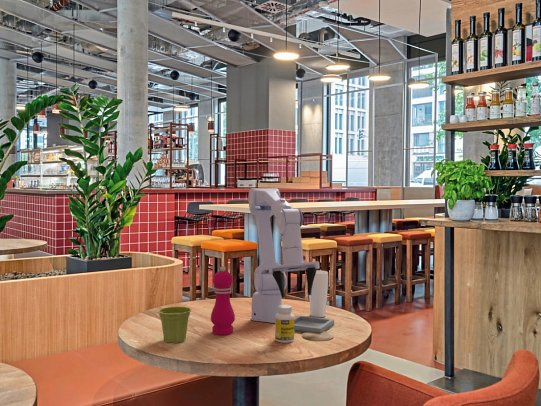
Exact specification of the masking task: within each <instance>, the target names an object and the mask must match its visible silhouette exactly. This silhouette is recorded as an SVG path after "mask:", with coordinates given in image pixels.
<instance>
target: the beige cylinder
mask: <svg viewBox="0 0 541 406" xmlns="http://www.w3.org/2000/svg"><path fill="white" fill-rule="evenodd" d="M328 290H329V272H328V271H327V270H319V269H318V270H317V269H316V274H315V277H314V281H313V285H312V293H311V295H308V299H309V315H310V317H317V318H323V317H324V318H325V316H326V315H327V303H328Z"/></svg>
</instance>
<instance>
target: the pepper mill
mask: <svg viewBox="0 0 541 406" xmlns="http://www.w3.org/2000/svg"><path fill="white" fill-rule="evenodd" d="M219 270H220V271H217V272H216V273H214V275H213V277H212V283H213V285H214V286H215V287H213V288H214V293H215V301H214V306H213V308H212V311H211V313H210V322H211V323H212V324H213V325H212V330H211V332H212V334H214V335H217V336H228V335H232V334H233V333H234V326H233V323H234V322H235V321H236V315H235V311H234V309H233V306H232V304H231V298H230V295H231V292H232V287H231V286H232V284H233V281H234V278H233V275H232V274H231V272H229V271H226V270H227V268H226V266H225V265H222V266H219Z"/></svg>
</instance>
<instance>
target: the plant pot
mask: <svg viewBox="0 0 541 406" xmlns="http://www.w3.org/2000/svg"><path fill="white" fill-rule="evenodd" d="M157 313H158V315H159V318H160V322H161V328H162V336H163V341H164V342H166V343H171V342H172V343H174V344H176V343H181V342H184V341H185V340H186V339H187V333H188V326H189V325H188V323H189V317H190V315H191V313H192V308H191V307H187V306H166V307H162V308H160V309H158V310H157Z"/></svg>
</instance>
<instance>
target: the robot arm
mask: <svg viewBox="0 0 541 406" xmlns="http://www.w3.org/2000/svg"><path fill="white" fill-rule="evenodd" d="M248 208H249V212H250V215H251V216H253V217H254V220H255V224H256V232H257V239H258V248H259V256H260V261H261V264H260V265H258V266H257V267H256V268H255V270H254V273H253V275H254V279H253V280H254V281H253V282H254V288H255V292H254V293H253V294H252V298H251V318H250V320H251V321H255V322H256V321H257V322H263V323H270V324H271V323H272V324H275V316H276V314H277V313H279V312H278V306H279V305H282V298H286V289H287V286H288V278H287V277H288V276H287V274H286V272H296V271H304V270H305V276H306V282H307V283H306V284H307V295H308V296H309V295H311V293H312V285H313V281H314V277H315V274H316V270H317V269H318V270H319V269H320V262H319V261H318V260H317V261H307V262H306V261H305V262H304V256H303V243H302V234H301V232H302V231H301V227H302V226H303V221H304V220H303V212H302V210H301V209H300V208H299V207H297V208H293V207H292V206H291V204H290V203H289V202H288V201H287V200H286V199H285V198H281V191H280V190H279V189H278V188H277V187H274V188H268V187H267V188H266V187H265V188H257V187H255V188H254V187H251V188H250V190H249V191H248ZM272 216H274V217H275V219H276V223H277V226H278V229H279V231H278V232H279V235H280V237H281V246H282V247H281V249H282V257H283V259H282V260H283V264H280V263H278V262H277V260H276V252H275V246H274V239H273V233H272V226H271V217H272Z"/></svg>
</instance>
